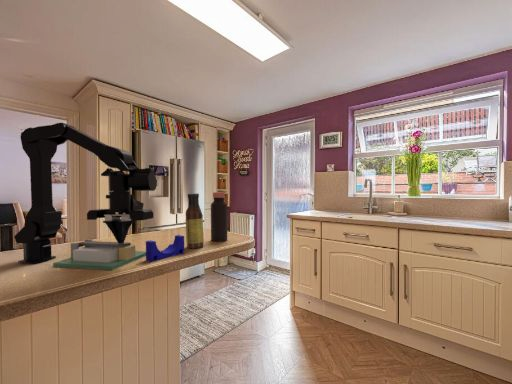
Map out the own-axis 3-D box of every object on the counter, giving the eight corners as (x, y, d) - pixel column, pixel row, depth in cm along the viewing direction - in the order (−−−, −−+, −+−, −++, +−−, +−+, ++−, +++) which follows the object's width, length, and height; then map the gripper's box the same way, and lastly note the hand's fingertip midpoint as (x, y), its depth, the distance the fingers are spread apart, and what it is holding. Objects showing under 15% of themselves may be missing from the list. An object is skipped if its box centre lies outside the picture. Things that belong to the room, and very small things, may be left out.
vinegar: (230, 239, 107) (230, 192, 107) (220, 242, 101) (220, 192, 101) (218, 237, 111) (217, 192, 110) (207, 240, 105) (207, 192, 105)
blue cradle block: (176, 251, 88) (175, 234, 88) (184, 253, 85) (184, 236, 85) (143, 259, 78) (143, 240, 78) (151, 262, 76) (151, 242, 76)
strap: (76, 247, 78) (75, 242, 78) (84, 245, 81) (84, 240, 81) (123, 249, 74) (123, 244, 74) (130, 247, 77) (130, 242, 77)
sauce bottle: (207, 246, 95) (206, 193, 95) (194, 249, 90) (194, 193, 90) (194, 244, 99) (194, 193, 98) (182, 247, 93) (181, 193, 93)
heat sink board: (53, 266, 72) (52, 247, 71) (98, 252, 87) (98, 236, 87) (111, 270, 68) (111, 249, 68) (148, 254, 84) (147, 238, 83)
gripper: (163, 190, 82) (163, 238, 82) (112, 191, 86) (113, 237, 86) (141, 191, 71) (142, 246, 72) (84, 191, 75) (86, 244, 75)
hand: (121, 243), depth 76 cm, fingers closed
